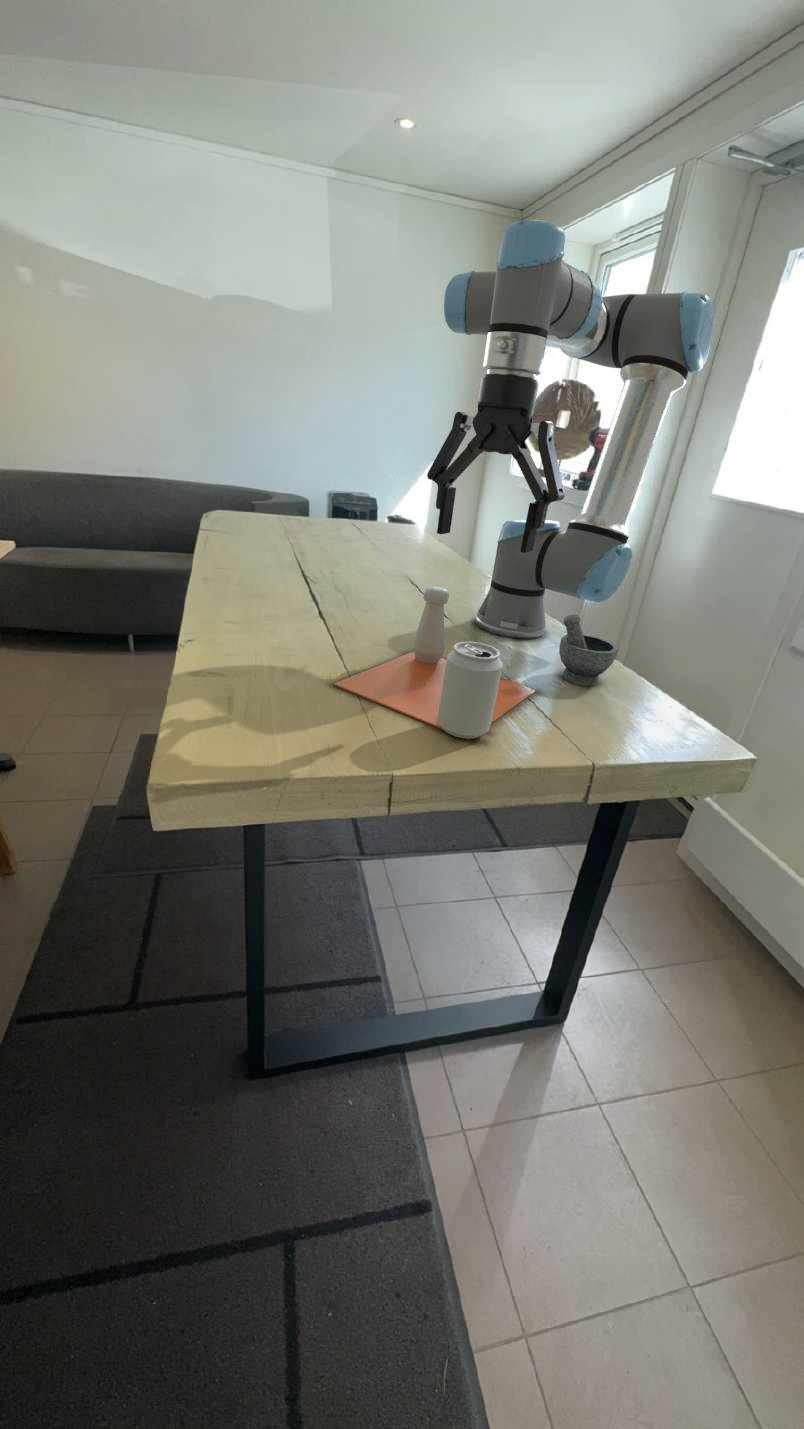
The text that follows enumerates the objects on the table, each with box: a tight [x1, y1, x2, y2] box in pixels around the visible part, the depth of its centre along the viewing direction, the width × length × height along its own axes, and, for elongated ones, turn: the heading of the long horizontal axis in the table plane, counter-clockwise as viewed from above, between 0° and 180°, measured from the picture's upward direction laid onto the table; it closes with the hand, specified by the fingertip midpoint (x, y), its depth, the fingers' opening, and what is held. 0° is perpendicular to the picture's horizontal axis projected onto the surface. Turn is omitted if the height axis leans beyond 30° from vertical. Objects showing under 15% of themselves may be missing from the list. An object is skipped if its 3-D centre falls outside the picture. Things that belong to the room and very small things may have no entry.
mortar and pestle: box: [558, 613, 619, 687], centre depth 104 cm, size 11×9×12 cm
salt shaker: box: [412, 586, 450, 664], centre depth 103 cm, size 6×6×13 cm
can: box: [437, 641, 504, 739], centre depth 80 cm, size 8×8×12 cm
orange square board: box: [333, 650, 537, 741], centre depth 95 cm, size 24×24×1 cm
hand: (483, 542), depth 86 cm, fingers open, 13 cm apart
